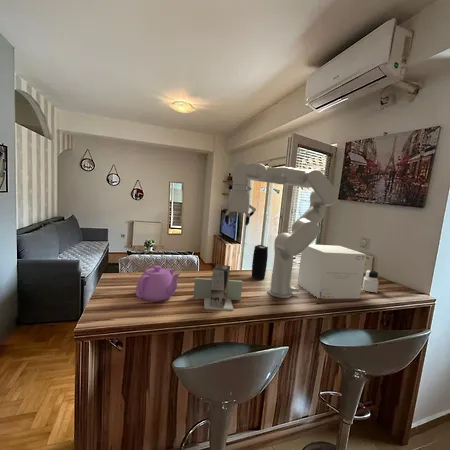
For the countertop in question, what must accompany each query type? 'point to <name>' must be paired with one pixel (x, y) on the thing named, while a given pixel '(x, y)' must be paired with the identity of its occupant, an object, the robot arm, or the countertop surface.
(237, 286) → the screen
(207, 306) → the mat
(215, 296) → the coffee box
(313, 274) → the cube
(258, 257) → the portable speaker
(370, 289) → the medicine bottle
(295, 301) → the countertop surface
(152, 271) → the teapot
